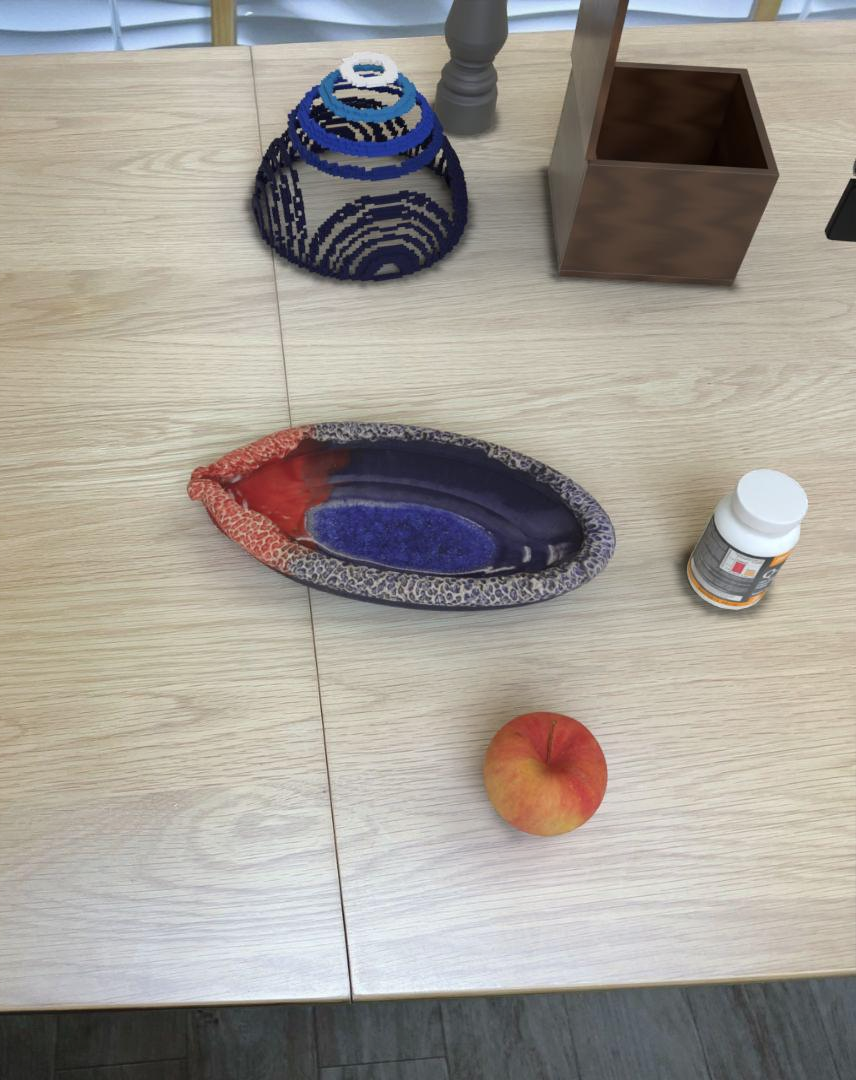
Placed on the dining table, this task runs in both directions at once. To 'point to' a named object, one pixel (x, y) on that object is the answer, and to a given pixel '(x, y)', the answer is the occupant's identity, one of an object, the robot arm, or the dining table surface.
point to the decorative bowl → (363, 173)
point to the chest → (662, 177)
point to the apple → (545, 773)
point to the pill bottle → (747, 539)
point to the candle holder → (471, 65)
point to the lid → (595, 62)
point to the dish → (407, 516)
